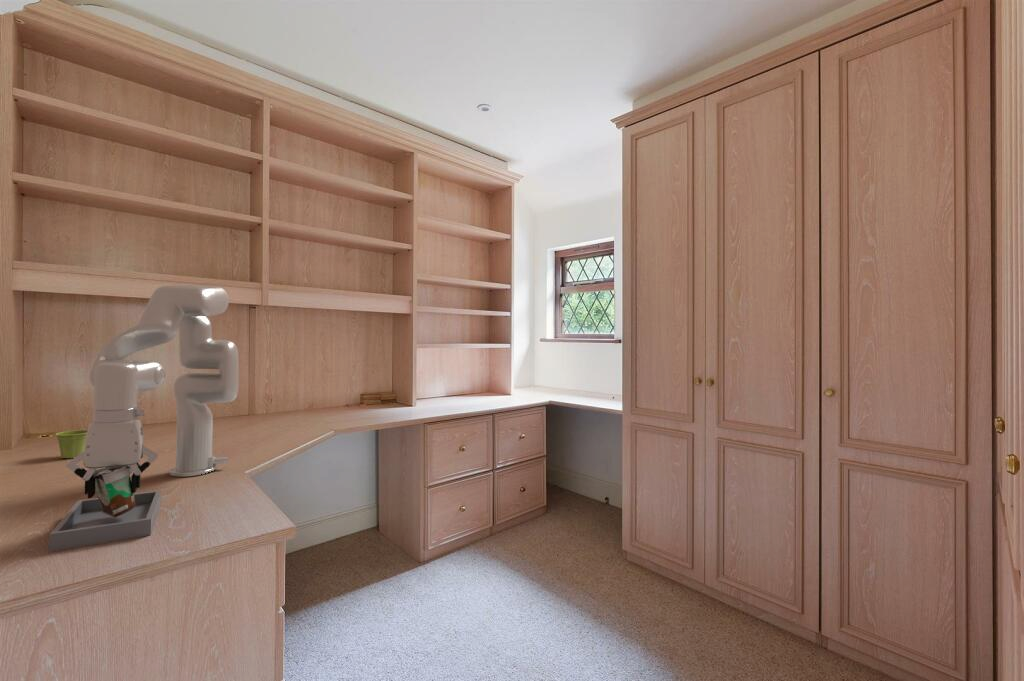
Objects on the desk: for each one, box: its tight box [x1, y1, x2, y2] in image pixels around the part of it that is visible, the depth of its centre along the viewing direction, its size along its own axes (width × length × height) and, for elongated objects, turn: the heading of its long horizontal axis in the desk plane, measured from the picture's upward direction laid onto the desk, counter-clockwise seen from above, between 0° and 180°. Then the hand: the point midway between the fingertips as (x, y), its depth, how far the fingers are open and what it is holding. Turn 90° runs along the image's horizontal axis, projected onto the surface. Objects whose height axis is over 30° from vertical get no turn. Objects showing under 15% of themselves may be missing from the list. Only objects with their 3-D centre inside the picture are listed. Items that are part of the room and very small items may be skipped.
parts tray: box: [49, 489, 162, 552], centre depth 105 cm, size 16×22×4 cm
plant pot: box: [55, 429, 88, 459], centre depth 161 cm, size 9×9×9 cm
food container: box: [93, 465, 136, 518], centre depth 106 cm, size 12×6×10 cm, turn 53°
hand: (113, 493), depth 105 cm, fingers closed on food container, 6 cm apart
